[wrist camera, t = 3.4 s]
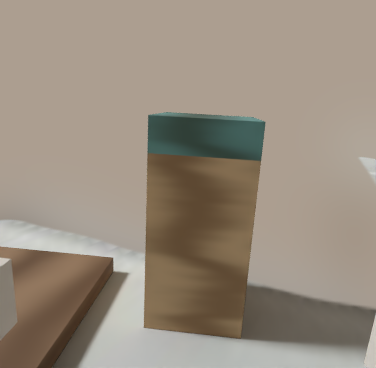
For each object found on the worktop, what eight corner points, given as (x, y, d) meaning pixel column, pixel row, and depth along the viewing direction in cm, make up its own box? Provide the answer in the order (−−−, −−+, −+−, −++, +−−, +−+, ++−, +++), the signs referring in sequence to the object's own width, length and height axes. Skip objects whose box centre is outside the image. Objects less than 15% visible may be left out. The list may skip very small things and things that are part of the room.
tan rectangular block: (235, 284, 25) (253, 117, 21) (240, 338, 19) (265, 121, 16) (161, 276, 25) (167, 112, 22) (144, 327, 19) (148, 114, 16)
